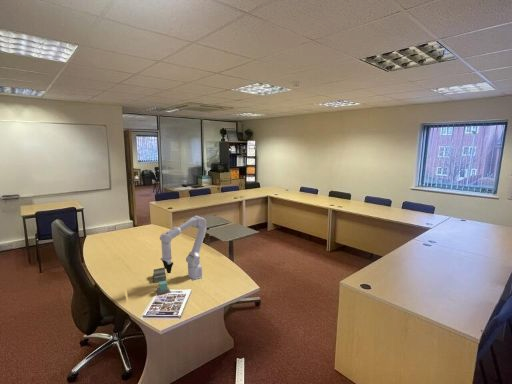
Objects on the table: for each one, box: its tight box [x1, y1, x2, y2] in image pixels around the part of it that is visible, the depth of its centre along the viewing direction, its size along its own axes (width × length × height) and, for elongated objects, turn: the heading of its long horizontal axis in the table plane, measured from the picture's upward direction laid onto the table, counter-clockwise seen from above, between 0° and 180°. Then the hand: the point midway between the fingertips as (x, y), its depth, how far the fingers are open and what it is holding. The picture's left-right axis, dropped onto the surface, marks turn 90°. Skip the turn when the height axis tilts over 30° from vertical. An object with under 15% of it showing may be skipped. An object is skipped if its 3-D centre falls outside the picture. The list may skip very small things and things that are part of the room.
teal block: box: [158, 280, 168, 291], centre depth 171 cm, size 4×4×4 cm
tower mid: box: [156, 286, 170, 294], centre depth 172 cm, size 6×6×2 cm
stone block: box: [152, 267, 167, 283], centre depth 191 cm, size 9×14×5 cm, turn 22°
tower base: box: [155, 286, 172, 297], centre depth 172 cm, size 8×8×2 cm
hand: (167, 270), depth 181 cm, fingers open, 7 cm apart
